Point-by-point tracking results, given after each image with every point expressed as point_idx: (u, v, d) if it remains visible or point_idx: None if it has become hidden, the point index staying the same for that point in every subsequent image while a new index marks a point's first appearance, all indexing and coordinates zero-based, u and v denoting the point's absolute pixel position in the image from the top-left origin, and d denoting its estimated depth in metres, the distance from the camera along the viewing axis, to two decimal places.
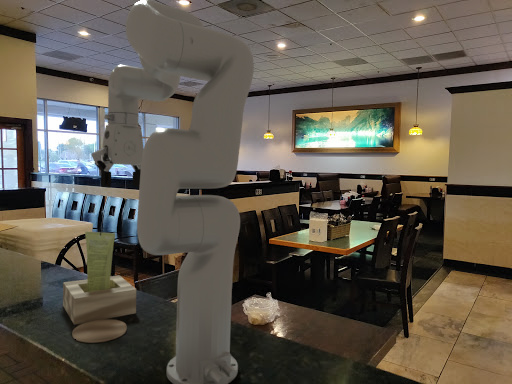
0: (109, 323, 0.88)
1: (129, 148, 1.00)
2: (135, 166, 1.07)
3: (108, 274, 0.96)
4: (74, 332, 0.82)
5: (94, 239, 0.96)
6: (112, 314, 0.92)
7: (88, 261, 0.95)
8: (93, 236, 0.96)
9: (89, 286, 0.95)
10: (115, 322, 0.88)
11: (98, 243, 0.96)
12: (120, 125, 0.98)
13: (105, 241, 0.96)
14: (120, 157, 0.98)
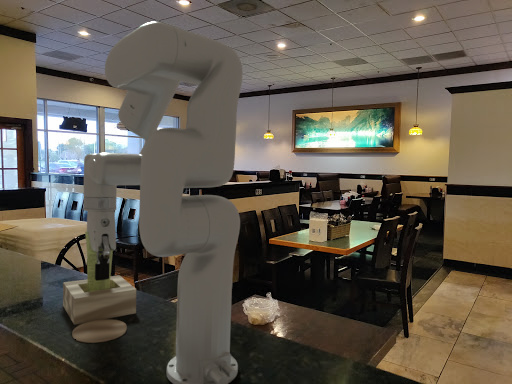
0: (109, 323, 0.88)
1: None
2: None
3: None
4: (74, 332, 0.82)
5: None
6: (112, 314, 0.92)
7: (88, 261, 0.95)
8: None
9: (89, 286, 0.95)
10: (115, 322, 0.88)
11: None
12: (113, 210, 0.95)
13: None
14: None
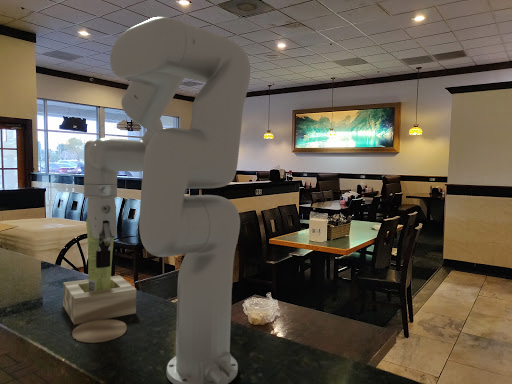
0: (109, 323, 0.88)
1: None
2: None
3: None
4: (74, 332, 0.82)
5: None
6: (112, 314, 0.92)
7: (89, 249, 0.95)
8: None
9: (90, 274, 0.94)
10: (115, 322, 0.88)
11: None
12: (114, 197, 0.95)
13: None
14: None
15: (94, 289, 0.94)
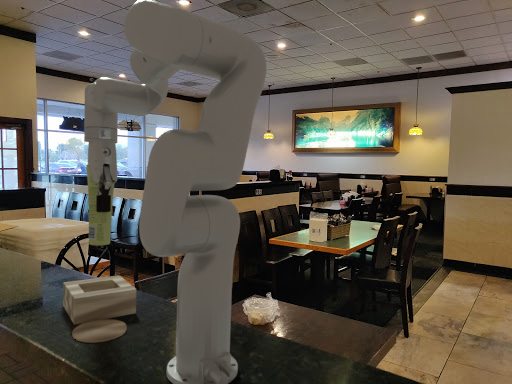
0: (109, 323, 0.88)
1: None
2: None
3: None
4: (74, 332, 0.82)
5: None
6: (112, 314, 0.92)
7: (89, 194, 0.94)
8: None
9: (90, 219, 0.94)
10: (115, 322, 0.88)
11: None
12: (114, 142, 0.94)
13: None
14: None
15: (94, 234, 0.93)
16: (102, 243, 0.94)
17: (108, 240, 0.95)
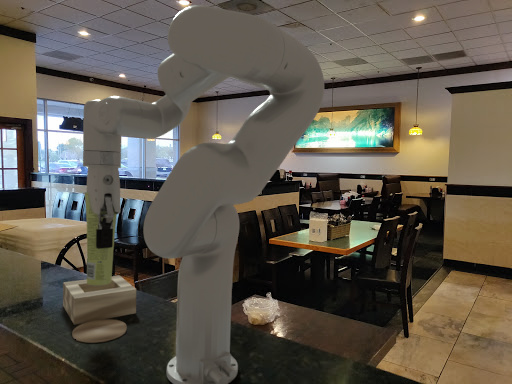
0: (109, 323, 0.88)
1: None
2: None
3: None
4: (74, 332, 0.82)
5: None
6: (112, 314, 0.92)
7: (88, 227, 0.82)
8: None
9: (89, 255, 0.82)
10: (115, 322, 0.88)
11: None
12: (118, 167, 0.82)
13: None
14: None
15: (93, 273, 0.81)
16: (102, 283, 0.82)
17: (109, 279, 0.83)
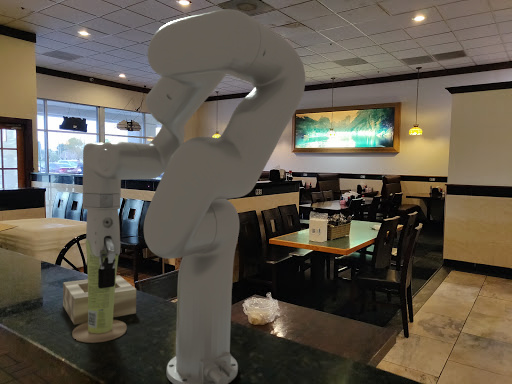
0: None
1: None
2: None
3: (112, 289, 0.83)
4: (74, 332, 0.82)
5: None
6: None
7: (89, 275, 0.82)
8: None
9: (90, 304, 0.82)
10: (115, 322, 0.88)
11: None
12: (117, 209, 0.82)
13: None
14: None
15: (95, 321, 0.82)
16: (104, 331, 0.82)
17: (110, 326, 0.84)
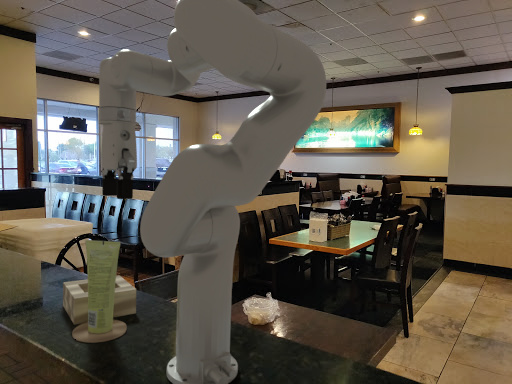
0: None
1: None
2: None
3: (112, 289, 0.83)
4: (74, 332, 0.82)
5: (96, 249, 0.83)
6: None
7: (89, 275, 0.82)
8: (95, 245, 0.83)
9: (90, 304, 0.82)
10: (115, 322, 0.88)
11: (100, 254, 0.82)
12: (133, 125, 0.84)
13: (109, 251, 0.83)
14: None
15: (95, 321, 0.82)
16: (104, 331, 0.82)
17: (110, 326, 0.84)
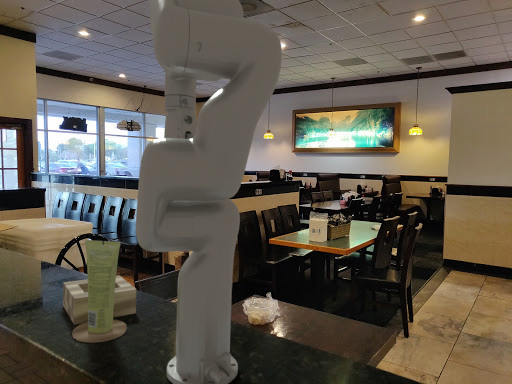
0: None
1: None
2: None
3: (112, 289, 0.83)
4: (74, 332, 0.82)
5: (96, 249, 0.83)
6: None
7: (89, 275, 0.82)
8: (95, 245, 0.83)
9: (90, 304, 0.82)
10: (115, 322, 0.88)
11: (100, 254, 0.82)
12: None
13: (109, 251, 0.83)
14: None
15: (95, 321, 0.82)
16: (104, 331, 0.82)
17: (110, 326, 0.84)
